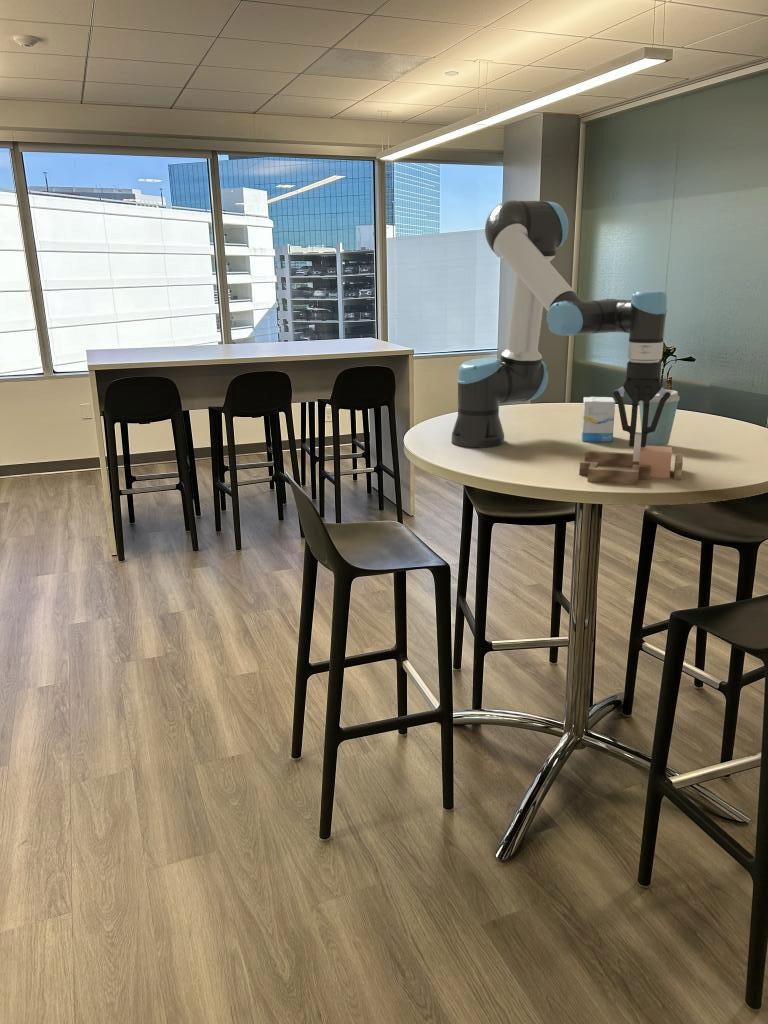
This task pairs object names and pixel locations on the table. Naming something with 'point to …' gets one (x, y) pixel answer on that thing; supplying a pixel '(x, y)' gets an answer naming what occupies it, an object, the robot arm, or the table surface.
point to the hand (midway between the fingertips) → (636, 460)
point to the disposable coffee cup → (660, 419)
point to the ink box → (598, 419)
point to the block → (657, 460)
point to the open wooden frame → (618, 474)
